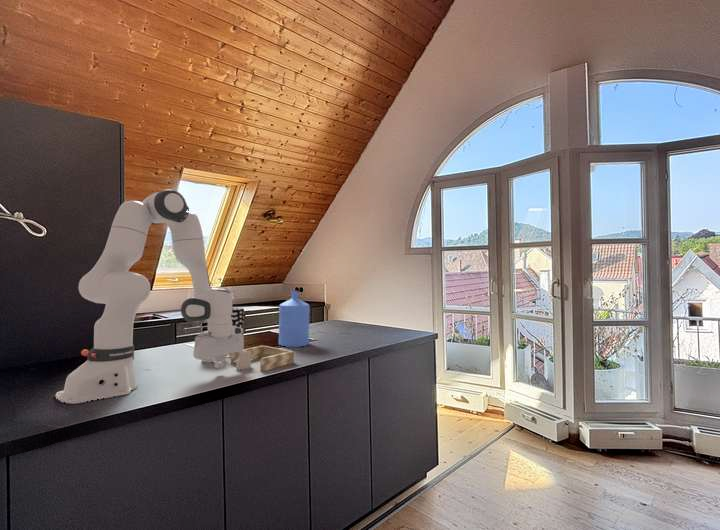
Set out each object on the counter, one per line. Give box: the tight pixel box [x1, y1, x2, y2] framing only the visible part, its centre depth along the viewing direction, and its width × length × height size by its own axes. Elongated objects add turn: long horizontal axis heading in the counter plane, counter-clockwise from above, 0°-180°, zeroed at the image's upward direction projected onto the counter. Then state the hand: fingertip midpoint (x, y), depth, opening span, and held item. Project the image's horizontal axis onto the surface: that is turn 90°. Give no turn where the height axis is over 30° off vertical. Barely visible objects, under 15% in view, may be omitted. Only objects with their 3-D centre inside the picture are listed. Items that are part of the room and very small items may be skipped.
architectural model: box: [234, 350, 254, 371], centre depth 170 cm, size 3×7×7 cm, turn 142°
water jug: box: [277, 290, 311, 348], centre depth 218 cm, size 16×16×28 cm
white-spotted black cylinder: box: [231, 307, 245, 339], centre depth 201 cm, size 8×8×20 cm
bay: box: [230, 345, 295, 372], centre depth 177 cm, size 18×19×5 cm
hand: (219, 367), depth 160 cm, fingers closed
